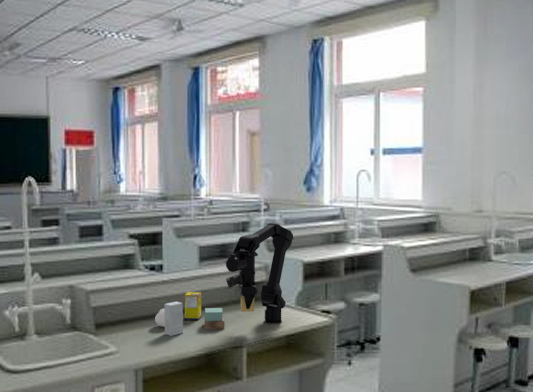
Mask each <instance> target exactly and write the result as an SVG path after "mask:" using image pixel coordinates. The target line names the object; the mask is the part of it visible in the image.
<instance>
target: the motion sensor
mask: <svg viewBox="0 0 533 392" xmlns="http://www.w3.org/2000/svg"><path fill="white" fill-rule="evenodd" d="M154 320H155V323H156V325H158V326H160V327H163V328H165V311H164V308H161V309H159V311H158V313H157V314H156V315H155V318H154Z"/></svg>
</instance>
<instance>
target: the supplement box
mask: <svg viewBox="0 0 533 392" xmlns="http://www.w3.org/2000/svg"><path fill="white" fill-rule="evenodd" d="M201 318H202V292H201V291H187V292H186V293H185V294H184V320H185V321H190V320H191V321H199V320H200V319H201Z"/></svg>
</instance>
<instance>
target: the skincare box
mask: <svg viewBox="0 0 533 392" xmlns="http://www.w3.org/2000/svg"><path fill="white" fill-rule="evenodd" d="M183 307H184V305H183V302H180V301H172V302H167V303H164V311H165V327H164V334H165V335H168V336H169V337H172V336H176V335H180V334H184V313H183V312H184V308H183Z"/></svg>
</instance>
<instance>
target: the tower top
mask: <svg viewBox="0 0 533 392" xmlns="http://www.w3.org/2000/svg"><path fill="white" fill-rule="evenodd" d="M223 314H224V313H223V307H205V308H204V322H205V321H223V316H224V315H223Z"/></svg>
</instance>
